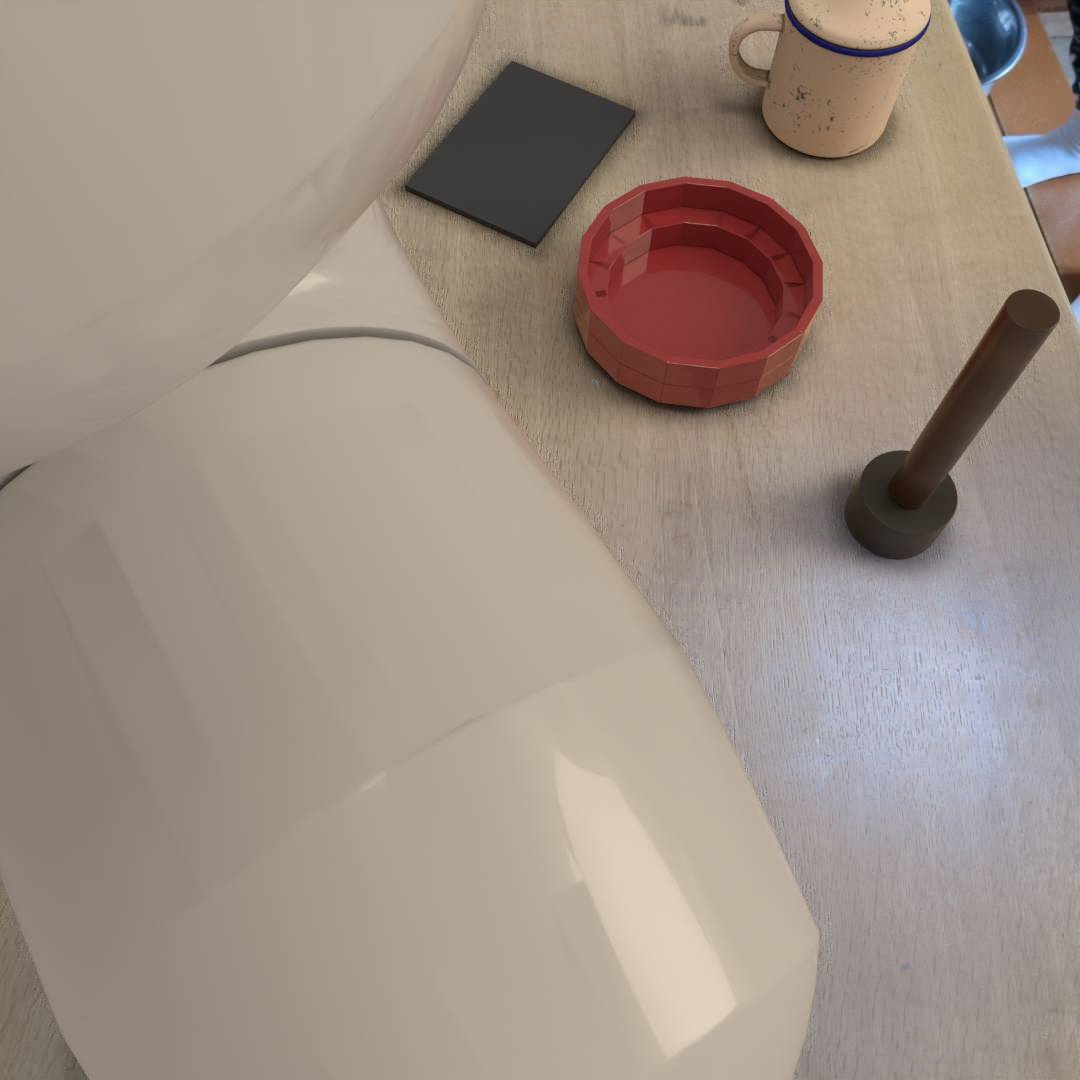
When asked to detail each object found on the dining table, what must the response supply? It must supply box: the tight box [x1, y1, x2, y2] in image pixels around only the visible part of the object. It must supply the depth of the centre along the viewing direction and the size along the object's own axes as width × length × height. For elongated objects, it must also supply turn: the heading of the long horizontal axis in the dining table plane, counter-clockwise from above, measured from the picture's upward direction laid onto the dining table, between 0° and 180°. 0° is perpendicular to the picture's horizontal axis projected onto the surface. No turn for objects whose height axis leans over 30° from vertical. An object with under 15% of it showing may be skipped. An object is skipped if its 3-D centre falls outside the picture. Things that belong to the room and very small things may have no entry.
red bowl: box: [573, 176, 824, 409], centre depth 62 cm, size 14×14×4 cm
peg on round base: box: [844, 288, 1061, 560], centre depth 50 cm, size 5×5×18 cm
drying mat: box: [404, 60, 637, 248], centre depth 70 cm, size 14×10×1 cm
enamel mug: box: [728, 0, 932, 158], centre depth 67 cm, size 12×9×12 cm
